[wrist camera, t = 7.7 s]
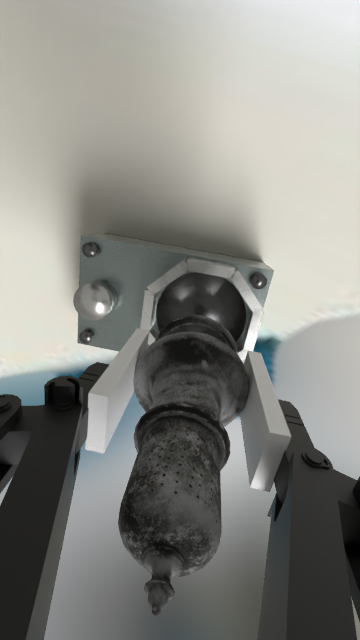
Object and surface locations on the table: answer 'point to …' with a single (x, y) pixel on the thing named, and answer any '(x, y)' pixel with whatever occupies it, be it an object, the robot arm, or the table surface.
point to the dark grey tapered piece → (181, 450)
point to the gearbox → (164, 290)
